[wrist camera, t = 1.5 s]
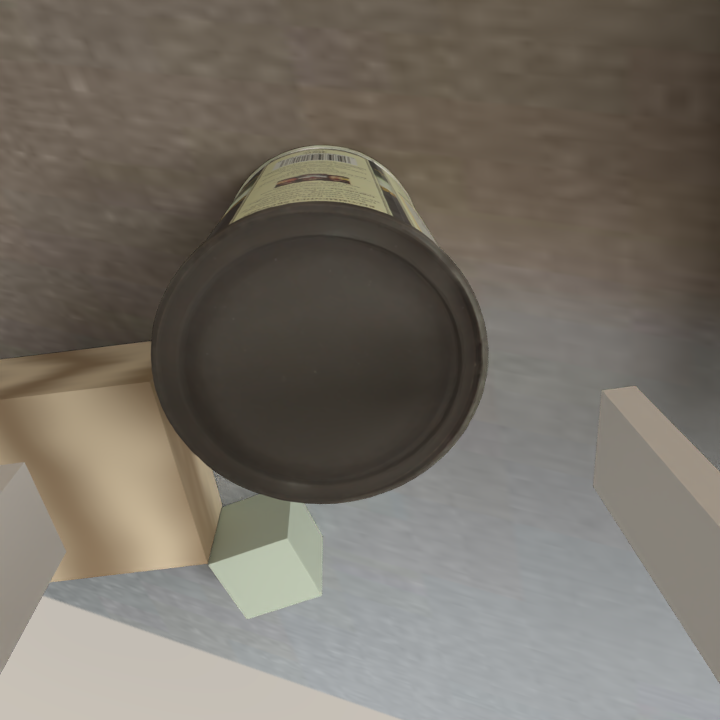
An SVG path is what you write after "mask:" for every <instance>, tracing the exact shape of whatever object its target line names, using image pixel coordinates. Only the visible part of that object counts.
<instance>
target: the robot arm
mask: <svg viewBox="0 0 720 720" xmlns="http://www.w3.org/2000/svg"><path fill="white" fill-rule="evenodd" d="M593 487H594V489H595V490H596V492H597V493H598V495H599V496H600V498H601V500H602V501H603V503H604V504H605V506H606V507H607V509H608V510H609V512H610V514H611V515H612V517H613V518H614V520H615V521H616V523H617V524H618V526H619V528H620V529H621V531H622V532H623V534H624V535H625V537H626V539H627V540H628V542H629V543H630V545H631V546H632V548H633V549H634V551H635V553H636V554H637V556H638V557H639V559H640V560H641V562H642V563H643V565H644V567H645V568H646V570H647V571H648V573H649V574H650V576H651V577H652V579H653V581H654V582H655V584H656V585H657V587H658V588H659V590H660V592H661V593H662V595H663V596H664V598H665V599H666V601H667V602H668V604H669V606H670V607H671V609H672V610H673V612H674V613H675V615H676V616H677V618H678V620H679V621H680V623H681V624H682V626H683V627H684V629H685V630H686V632H687V634H688V635H689V637H690V638H691V640H692V641H693V643H694V645H695V646H696V648H697V649H698V651H699V652H700V654H701V655H702V657H703V659H704V660H705V662H706V663H707V665H708V666H709V668H710V669H711V671H712V673H713V674H714V676H715V677H716V679H717V680H718V682H719V683H720V472H719V471H718V470H717V469H716V468H715V467H714V466H713V465H712V464H711V463H710V461H709V460H708V459H707V458H706V457H705V456H704V455H703V454H702V453H701V452H700V451H699V450H698V449H697V448H696V447H695V446H694V445H693V444H692V443H691V442H690V441H689V440H688V439H687V438H686V437H685V436H684V435H683V434H682V433H681V432H680V431H679V430H678V429H677V428H676V427H675V426H674V425H673V424H672V423H671V422H670V421H669V420H668V419H667V418H666V417H665V416H664V415H663V414H662V412H661V411H660V410H659V409H658V408H657V407H656V406H655V405H654V404H653V403H652V402H651V401H650V400H649V399H648V398H647V397H646V396H645V395H644V394H643V393H642V392H641V391H640V390H639V389H638V388H637V387H636V386H631V387H623V388H615V389H607V390H602V392H601V403H600V414H599V426H598V437H597V448H596V459H595V470H594V481H593ZM65 553H66V550H65V548H64V545H63V543H62V541H61V539H60V537H59V535H58V533H57V530H56V528H55V526H54V524H53V522H52V520H51V518H50V515H49V513H48V511H47V509H46V507H45V505H44V503H43V500H42V498H41V496H40V494H39V492H38V490H37V488H36V486H35V483H34V481H33V479H32V477H31V475H30V473H29V471H28V468H27V466H26V464H25V462H21V463H13V464H5V465H0V674H1V672H2V670H3V668H4V667H5V665H6V663H7V661H8V659H9V657H10V655H11V653H12V652H13V650H14V648H15V646H16V644H17V642H18V641H19V639H20V637H21V635H22V633H23V631H24V629H25V627H26V626H27V624H28V622H29V620H30V618H31V616H32V615H33V613H34V611H35V609H36V607H37V605H38V603H39V602H40V600H41V598H42V596H43V594H44V592H45V590H46V589H47V587H48V585H49V583H50V581H51V579H52V577H53V576H54V574H55V572H56V570H57V568H58V566H59V564H60V563H61V561H62V559H63V557H64V555H65Z"/></svg>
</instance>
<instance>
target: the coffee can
mask: <svg viewBox="0 0 720 720" xmlns="http://www.w3.org/2000/svg"><path fill="white" fill-rule="evenodd" d="M151 364H152V375H153V381H154V386H155V390H156V393H157V396H158V399H159V401H160V404H161V407H162V409H163V411H164V413H165V415H166V417H167V419H168V421H169V423H170V424H171V425H172V427H173V428H174V430H175V432H176V433H177V434H178V436H179V437H180V438H181V439H182V441H183V442H184V443H185V444H186V445H187V447H188V448H189V449H190V450H191V451H192V452H193V453H194V454H195V455H196V456H197V457H199V458H200V459H201V460H202V461H203V462H204V463H205V464H206V465H207V466H208V467H210V468H211V469H212V470H214V471H215V472H217V473H218V474H220V475H221V476H223V477H224V478H226V479H228V480H230V481H231V482H233V483H235V484H237V485H239V486H241V487H243V488H245V489H248V490H250V491H253V492H256V493H259V494H262V495H265V496H268V497H272V498H275V499H279V500H283V501H290V502H297V503H308V504H336V503H344V502H351V501H356V500H361V499H366V498H369V497H373V496H376V495H378V494H382V493H384V492H387V491H390V490H392V489H395V488H397V487H399V486H401V485H403V484H405V483H407V482H409V481H410V480H412V479H414V478H416V477H417V476H419V475H420V474H422V473H423V472H425V471H426V470H428V469H429V468H430V467H431V466H433V465H434V464H435V463H436V462H437V461H439V460H440V459H441V458H442V457H443V456H444V455H445V454H446V453H447V452H448V451H449V450H450V449H451V448H452V447H453V446H454V444H455V443H456V442H457V441H458V439H459V438H460V437H461V435H462V434H463V433H464V431H465V430H466V428H467V426H468V424H469V422H470V421H471V419H472V418H473V416H474V414H475V411H476V409H477V407H478V405H479V402H480V399H481V397H482V394H483V389H484V385H485V381H486V376H487V368H488V341H487V333H486V327H485V322H484V319H483V316H482V313H481V310H480V307H479V304H478V301H477V299H476V297H475V294H474V292H473V290H472V289H471V287H470V285H469V283H468V281H467V280H466V278H465V277H464V275H463V274H462V272H461V271H460V269H459V268H458V267H457V266H456V265H455V263H454V262H453V261H452V260H451V259H450V258H449V256H448V255H447V254H446V253H445V252H443V251H442V250H441V249H440V247H439V246H438V244H437V243H436V241H435V239H434V238H433V236H432V235H431V233H430V231H429V230H428V228H427V227H426V225H425V223H424V222H423V220H422V219H421V217H420V216H419V214H418V213H417V211H416V210H415V208H414V206H413V203H412V201H411V199H410V196H409V195H408V193H407V192H406V190H405V189H404V188H403V186H402V185H401V184H400V182H399V181H398V180H397V179H396V178H395V176H394V175H393V174H392V173H391V172H390V171H389V170H388V169H386V168H385V167H384V166H382V165H381V164H380V163H378V162H377V161H375V160H374V159H372V158H370V157H368V156H366V155H364V154H362V153H360V152H357V151H354V150H351V149H349V148H343V147H338V146H328V145H315V146H307V147H302V148H297V149H294V150H291V151H287V152H285V153H282V154H280V155H278V156H276V157H274V158H273V159H270V160H268V161H267V162H266V163H264V164H263V165H262V166H261V167H259V168H258V169H257V170H256V171H255V172H254V173H253V174H252V175H251V176H250V177H249V178H248V179H247V180H246V182H245V183H244V184H243V186H242V187H241V189H240V190H239V192H238V193H237V195H236V197H235V199H234V201H233V203H232V204H231V206H230V207H229V209H228V210H227V212H226V213H225V214H224V216H223V217H222V219H221V220H220V222H219V223H218V224H217V226H216V227H215V228H214V230H213V231H212V233H211V234H210V235H209V237H208V238H207V240H206V241H205V242H204V243H203V244H202V245H201V246H200V247H199V248H197V250H196V251H195V252H194V253H193V254H192V255H191V256H190V257H189V258H188V259H187V260H186V261H185V262H184V263H183V265H182V266H181V267H180V269H179V270H178V271H177V273H176V274H175V276H174V277H173V278H172V280H171V282H170V284H169V286H168V287H167V289H166V291H165V293H164V296H163V298H162V300H161V302H160V304H159V307H158V310H157V314H156V317H155V321H154V325H153V332H152V340H151Z"/></svg>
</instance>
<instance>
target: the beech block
mask: <svg viewBox="0 0 720 720" xmlns="http://www.w3.org/2000/svg"><path fill="white" fill-rule="evenodd" d="M21 462H25V464H26V466H27V468H28V471H29V473H30V475H31V477H32V479H33V481H34V483H35V486H36V488H37V490H38V492H39V494H40V496H41V498H42V500H43V503H44V505H45V507H46V509H47V511H48V513H49V515H50V518H51V520H52V522H53V524H54V526H55V528H56V530H57V533H58V535H59V537H60V539H61V541H62V543H63V545H64V548H65V550H66V553H65V555H64V557H63V559H62V561H61V563H60V564H59V566H58V568H57V570H56V572H55V574H54V576H53V577H52V579H51V581H50V582H57V581H65V580H74V579H82V578H91V577H99V576H107V575H116V574H124V573H133V572H141V571H150V570H158V569H167V568H175V567H184V566H192V565H201V564H208V560H209V556H210V552H211V548H212V544H213V540H214V536H215V532H216V528H217V524H218V520H219V516H220V512H221V507H222V503H221V499H220V495H219V492H218V488H217V485H216V481H215V478H214V474H213V471H212V469H211V468H210V467H208V466H207V465H206V464H205V463H204V462H203V461H202V460H201V459H200V458H199V457H197V456H196V455H195V454H194V453H193V452H192V451H191V450H190V449H189V448H188V447H187V445H186V444H185V443H184V442H183V441H182V439H181V438H180V437H179V436H178V434H177V433H176V432H175V430H174V428H173V427H172V425H171V424H170V423H169V421H168V419H167V417H166V415H165V413H164V411H163V409H162V407H161V404H160V401H159V399H158V396H157V393H156V390H155V386H154V381H153V375H152V364H151V341H148V342H140V343H131V344H123V345H115V346H107V347H99V348H90V349H82V350H74V351H66V352H58V353H49V354H41V355H33V356H25V357H16V358H8V359H0V465H5V464H13V463H21Z"/></svg>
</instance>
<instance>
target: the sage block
mask: <svg viewBox="0 0 720 720" xmlns="http://www.w3.org/2000/svg"><path fill="white" fill-rule="evenodd" d="M322 560H323V536H322V534H321V533H320V531H319V529H318V527H317V525H316V524H315V522H314V520H313V518H312V517H311V515H310V513H309V511H308V510H307V508H306V506H305V504H304V503H297V502H290V501H283V500H279V499H275V498H272V497H268V496H265V495H262V494H259V495H256V496H253V497H250V498H247V499H244V500H241V501H238V502H235V503H233V504H230V505H227V506H224V507H222V510H221V514H220V518H219V522H218V526H217V530H216V534H215V538H214V542H213V546H212V551H211V555H210V559H209V563H208V566H209V567H210V568H211V570H212V571H213V573H214V574H215V575H216V577H217V578H218V580H219V581H220V582H221V584H222V585H223V587H224V588H225V590H226V591H227V592H228V594H229V595H230V597H231V598H232V599H233V601H234V602H235V604H236V605H237V606H238V608H239V609H240V611H241V612H242V613H243V615H244V616H245V618H246V619H250V618H253V617H256V616H260V615H263V614H266V613H269V612H272V611H275V610H278V609H281V608H285V607H288V606H291V605H294V604H297V603H300V602H303V601H306V600H310V599H313V598H316V597H319V596H322Z"/></svg>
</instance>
